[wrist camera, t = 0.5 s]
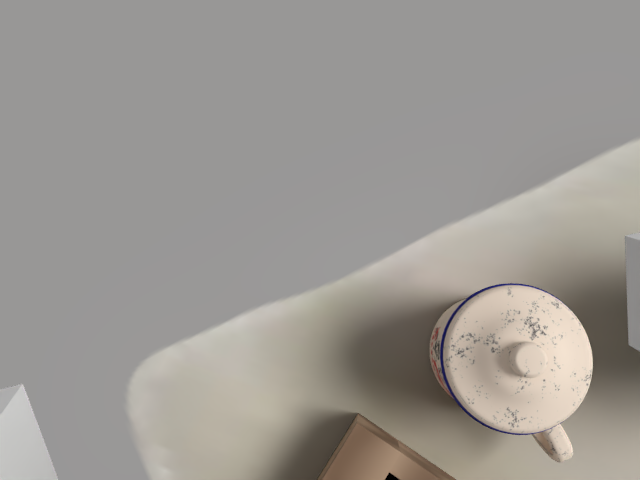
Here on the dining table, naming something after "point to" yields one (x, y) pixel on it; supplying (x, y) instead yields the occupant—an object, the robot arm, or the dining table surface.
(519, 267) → the dining table surface
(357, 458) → the wooden egg holder
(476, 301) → the teacup with lid
